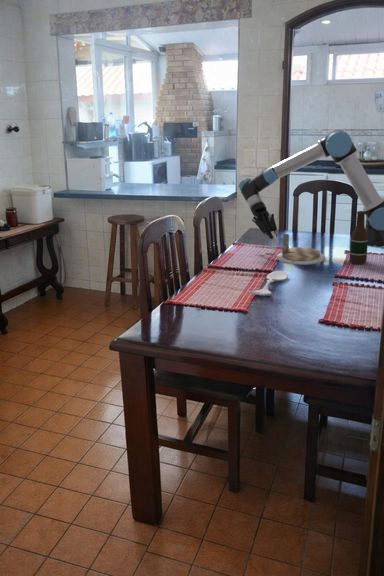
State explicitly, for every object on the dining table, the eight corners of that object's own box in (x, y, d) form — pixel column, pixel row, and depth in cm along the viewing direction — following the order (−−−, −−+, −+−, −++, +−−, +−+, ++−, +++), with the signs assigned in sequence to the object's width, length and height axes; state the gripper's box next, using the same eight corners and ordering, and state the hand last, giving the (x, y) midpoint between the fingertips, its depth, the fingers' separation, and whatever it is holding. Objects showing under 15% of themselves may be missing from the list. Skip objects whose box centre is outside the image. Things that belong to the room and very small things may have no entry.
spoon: (247, 299, 200) (247, 290, 199) (270, 275, 228) (270, 268, 227) (270, 301, 197) (270, 293, 196) (290, 277, 224) (290, 269, 223)
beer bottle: (364, 260, 244) (368, 209, 236) (368, 264, 236) (372, 212, 229) (347, 260, 245) (350, 210, 237) (350, 264, 237) (354, 213, 230)
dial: (315, 250, 259) (315, 229, 255) (323, 260, 242) (324, 237, 238) (279, 251, 259) (279, 230, 256) (285, 261, 242) (285, 238, 239)
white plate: (297, 249, 266) (297, 247, 266) (334, 257, 249) (334, 255, 249) (267, 258, 253) (267, 256, 252) (304, 267, 236) (304, 265, 235)
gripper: (263, 208, 269) (283, 245, 260) (243, 211, 263) (263, 249, 254) (270, 199, 263) (290, 237, 254) (249, 202, 257) (269, 241, 248)
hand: (276, 243), depth 254 cm, fingers closed
